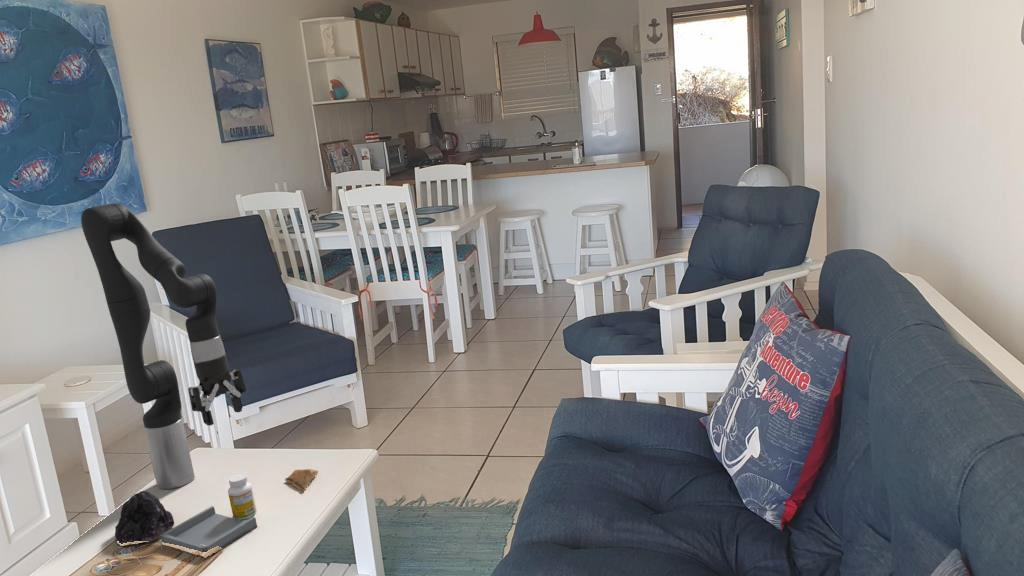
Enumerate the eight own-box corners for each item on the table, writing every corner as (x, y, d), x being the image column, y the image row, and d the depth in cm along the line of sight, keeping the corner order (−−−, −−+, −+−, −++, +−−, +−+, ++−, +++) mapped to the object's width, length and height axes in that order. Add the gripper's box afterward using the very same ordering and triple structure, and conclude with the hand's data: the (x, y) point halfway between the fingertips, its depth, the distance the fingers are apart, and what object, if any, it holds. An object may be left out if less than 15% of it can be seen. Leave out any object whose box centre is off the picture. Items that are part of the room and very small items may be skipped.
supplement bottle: (236, 511, 191) (228, 474, 189) (259, 507, 191) (251, 470, 189) (230, 522, 186) (222, 484, 183) (253, 518, 186) (246, 481, 184)
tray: (162, 544, 179) (160, 535, 178) (213, 515, 190) (211, 506, 190) (206, 558, 170) (204, 548, 170) (257, 526, 182) (255, 517, 181)
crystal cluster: (148, 554, 177) (145, 512, 175) (98, 546, 180) (94, 505, 179) (187, 527, 190) (184, 488, 188) (140, 520, 193) (136, 482, 191)
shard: (304, 494, 197) (303, 487, 196) (275, 495, 198) (274, 489, 197) (319, 474, 207) (318, 468, 207) (292, 475, 208) (291, 469, 208)
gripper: (223, 347, 200) (237, 407, 203) (174, 365, 189) (190, 428, 192) (242, 347, 196) (257, 408, 199) (193, 365, 185) (209, 430, 188)
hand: (224, 418), depth 196 cm, fingers open, 8 cm apart
